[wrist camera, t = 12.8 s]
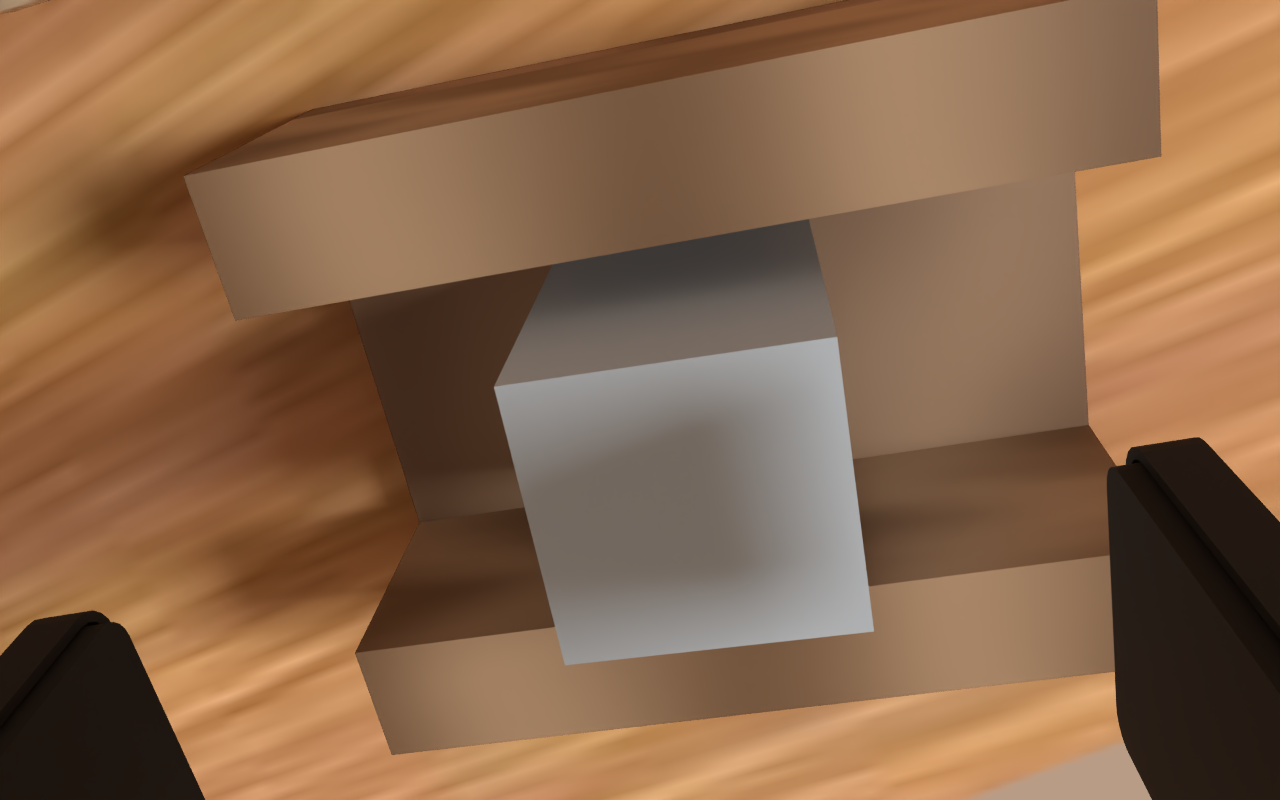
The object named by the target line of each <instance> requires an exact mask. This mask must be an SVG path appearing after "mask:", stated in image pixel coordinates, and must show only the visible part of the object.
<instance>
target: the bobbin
mask: <svg viewBox="0 0 1280 800" xmlns="http://www.w3.org/2000/svg"><path fill="white" fill-rule="evenodd" d="M47 1H50V0H0V14H3V13H9V12H14V11H18V10H21V9H24V8H27V7H30V6H34V5H37V4H40V3H43V2H47Z"/></svg>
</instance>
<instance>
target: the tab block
mask: <svg viewBox="0 0 1280 800" xmlns="http://www.w3.org/2000/svg"><path fill="white" fill-rule="evenodd" d="M494 389H495V393H496V397H497V401H498V405H499V409H500V413H501V417H502V420H503V424H504V428H505V432H506V436H507V440H508V444H509V448H510V452H511V456H512V460H513V464H514V468H515V471H516V475H517V479H518V483H519V487H520V491H521V495H522V499H523V503H524V507H525V511H526V515H527V519H528V522H529V526H530V530H531V534H532V538H533V542H534V546H535V550H536V554H537V558H538V562H539V566H540V570H541V574H542V577H543V581H544V585H545V589H546V593H547V597H548V601H549V605H550V609H551V613H552V617H553V621H554V625H555V628H556V632H557V636H558V640H559V644H560V648H561V652H562V656H563V660H564V664H565V665H573V664H582V663H591V662H600V661H610V660H619V659H628V658H637V657H646V656H655V655H664V654H673V653H683V652H692V651H701V650H710V649H719V648H728V647H737V646H746V645H756V644H765V643H774V642H783V641H792V640H801V639H810V638H819V637H829V636H838V635H847V634H856V633H865V632H874V626H873V618H872V611H871V603H870V595H869V587H868V579H867V571H866V563H865V555H864V547H863V539H862V531H861V523H860V515H859V507H858V499H857V491H856V483H855V475H854V467H853V459H852V451H851V443H850V435H849V427H848V419H847V411H846V403H845V395H844V387H843V379H842V371H841V363H840V355H839V347H838V339H837V334H836V330H835V326H834V321H833V317H832V313H831V309H830V305H829V301H828V297H827V292H826V288H825V284H824V280H823V276H822V272H821V267H820V263H819V259H818V255H817V251H816V247H815V243H814V238H813V234H812V230H811V226H810V222H809V219H806V220H800V221H794V222H789V223H783V224H777V225H772V226H766V227H760V228H755V229H749V230H744V231H738V232H732V233H727V234H721V235H715V236H710V237H704V238H698V239H693V240H687V241H681V242H676V243H670V244H665V245H659V246H653V247H648V248H642V249H636V250H631V251H625V252H619V253H614V254H608V255H603V256H597V257H591V258H586V259H580V260H574V261H569V262H563V263H557V264H553V265H552V267H551V269H550V271H549V273H548V275H547V277H546V279H545V281H544V284H543V286H542V288H541V290H540V292H539V294H538V296H537V298H536V300H535V302H534V304H533V306H532V309H531V311H530V313H529V315H528V317H527V319H526V321H525V323H524V325H523V327H522V329H521V331H520V334H519V336H518V338H517V340H516V342H515V344H514V346H513V348H512V350H511V352H510V354H509V356H508V359H507V361H506V363H505V365H504V367H503V369H502V371H501V373H500V375H499V377H498V379H497V381H496V384H495V386H494Z"/></svg>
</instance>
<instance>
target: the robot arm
mask: <svg viewBox="0 0 1280 800" xmlns="http://www.w3.org/2000/svg"><path fill="white" fill-rule="evenodd" d="M1107 505H1108V527H1109V550H1110V572H1111V595H1112V617H1113V640H1114V662H1115V685H1116V706H1117V716H1118V721H1119V726H1120V730H1121V734H1122V737H1123V740H1124V743H1125V746H1126V748H1127V750H1128V753H1129V755H1130V757H1131V759H1132V761H1133V763H1134V765H1135V767H1136V769H1137V771H1138V773H1139V775H1140V777H1141V779H1142V781H1143V782H1144V785H1145V786H1146V789H1147V790H1148V792H1149V794H1150V797H1151V798H1152V800H1280V522H1279V521H1278V520H1277V519H1276V517H1275V516H1274V515H1273V514H1272V513H1271V512H1270V511H1269V510H1268V509H1267V508H1266V507H1265V506H1264V505H1263V503H1262V502H1261V501H1260V500H1259V499H1258V498H1257V497H1256V496H1255V495H1254V494H1253V493H1252V492H1251V490H1250V489H1249V488H1248V487H1247V486H1246V485H1245V484H1244V483H1243V482H1242V481H1241V480H1240V479H1239V477H1238V476H1237V475H1236V474H1235V473H1234V472H1233V471H1232V470H1231V469H1230V468H1229V467H1228V466H1227V464H1226V463H1225V462H1224V461H1223V460H1222V459H1221V458H1220V457H1219V456H1218V455H1217V454H1216V453H1215V451H1214V450H1213V449H1212V448H1211V447H1210V446H1209V445H1208V444H1207V443H1206V442H1205V441H1204V440H1202V439H1201V438H1189V439H1182V440H1176V441H1170V442H1163V443H1157V444H1150V445H1144V446H1138V447H1131V449H1130V450H1129V451H1128V455H1127V459H1126V465H1122V466H1115V467H1110V469H1109V470H1108V473H1107ZM0 800H205V798H204V796H203V794H202V792H201V790H200V787H199V785H198V783H197V781H196V779H195V777H194V774H193V772H192V770H191V768H190V766H189V764H188V761H187V759H186V757H185V755H184V753H183V751H182V748H181V746H180V744H179V742H178V740H177V738H176V735H175V733H174V731H173V729H172V727H171V725H170V722H169V720H168V718H167V716H166V714H165V712H164V710H163V707H162V705H161V703H160V701H159V699H158V697H157V694H156V692H155V690H154V688H153V686H152V684H151V681H150V679H149V677H148V675H147V673H146V671H145V668H144V666H143V664H142V662H141V660H140V658H139V655H138V653H137V651H136V649H135V647H134V645H133V642H132V640H131V638H130V636H129V634H128V633H127V631H126V629H125V628H124V627H123V626H121V625H120V624H118V623H115V622H110V620H109V619H108V618H107V617H106V616H104V615H103V614H102V613H100V612H97V611H87V612H80V613H74V614H68V615H61V616H55V617H49V618H43V619H38V620H34V621H33V622H32V623H30V624H29V625H28V626H27V627H26V628H25V629H24V630H23V631H22V632H21V633H20V634H19V636H18V637H17V638H16V639H15V640H14V641H13V642H12V643H11V645H10V646H9V647H8V648H7V649H6V650H5V651H4V652H3V653H2V655H1V656H0Z"/></svg>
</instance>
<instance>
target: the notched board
mask: <svg viewBox="0 0 1280 800" xmlns="http://www.w3.org/2000/svg"><path fill="white" fill-rule="evenodd" d="M1155 157H1161V130H1160V90H1159V51H1158V11H1157V0H846V1H841V2H836V3H831V4H826V5H822V6H817V7H812V8H807V9H802V10H797V11H792V12H787V13H782V14H777V15H773V16H768V17H763V18H758V19H753V20H748V21H743V22H738V23H733V24H728V25H724V26H719V27H714V28H709V29H704V30H699V31H694V32H689V33H684V34H679V35H675V36H670V37H665V38H660V39H655V40H650V41H645V42H640V43H635V44H631V45H626V46H621V47H616V48H611V49H606V50H601V51H596V52H591V53H586V54H582V55H577V56H572V57H567V58H562V59H557V60H552V61H547V62H542V63H537V64H533V65H528V66H523V67H518V68H513V69H508V70H503V71H498V72H493V73H488V74H484V75H479V76H474V77H469V78H464V79H459V80H454V81H449V82H444V83H439V84H435V85H430V86H425V87H420V88H415V89H410V90H405V91H400V92H395V93H390V94H386V95H381V96H376V97H371V98H366V99H361V100H356V101H351V102H346V103H341V104H337V105H332V106H327V107H322V108H317V109H312V110H311V111H309V112H307V113H305V114H303V115H301V116H299V117H297V118H295V119H293V120H291V121H289V122H287V123H285V124H283V125H281V126H280V127H278V128H276V129H274V130H272V131H270V132H268V133H266V134H264V135H262V136H260V137H258V138H256V139H254V140H252V141H250V142H249V143H247V144H245V145H243V146H241V147H239V148H237V149H235V150H233V151H231V152H229V153H227V154H225V155H223V156H221V157H219V158H217V159H216V160H214V161H212V162H210V163H208V164H206V165H204V166H202V167H200V168H198V169H196V170H194V171H192V172H190V173H188V174H186V175H185V176H183V177H184V180H185V182H186V185H187V188H188V191H189V193H190V196H191V199H192V202H193V205H194V207H195V210H196V213H197V216H198V218H199V221H200V224H201V227H202V230H203V232H204V235H205V238H206V241H207V243H208V246H209V249H210V252H211V255H212V257H213V260H214V263H215V266H216V268H217V271H218V274H219V277H220V280H221V282H222V285H223V288H224V291H225V293H226V296H227V299H228V302H229V304H230V307H231V310H232V313H233V316H234V318H235V321H236V320H242V319H247V318H253V317H259V316H264V315H270V314H275V313H281V312H287V311H292V310H298V309H304V308H309V307H315V306H321V305H326V304H332V303H337V302H343V301H350V305H351V308H352V311H353V314H354V317H355V320H356V324H357V327H358V330H359V333H360V336H361V339H362V342H363V346H364V349H365V352H366V355H367V358H368V361H369V365H370V368H371V371H372V374H373V377H374V380H375V383H376V387H377V390H378V393H379V396H380V399H381V402H382V406H383V409H384V412H385V415H386V418H387V421H388V424H389V428H390V431H391V434H392V437H393V440H394V443H395V447H396V450H397V453H398V456H399V459H400V462H401V465H402V469H403V472H404V475H405V478H406V481H407V484H408V488H409V491H410V494H411V497H412V500H413V503H414V507H415V510H416V513H417V516H418V519H419V522H420V523H419V525H418V527H417V529H416V531H415V533H414V535H413V537H412V539H411V541H410V543H409V545H408V547H407V549H406V551H405V553H404V555H403V557H402V559H401V561H400V563H399V565H398V567H397V569H396V571H395V573H394V575H393V577H392V579H391V581H390V583H389V585H388V587H387V589H386V592H385V594H384V596H383V598H382V600H381V602H380V604H379V606H378V608H377V610H376V612H375V614H374V616H373V618H372V620H371V622H370V624H369V626H368V628H367V630H366V632H365V634H364V636H363V638H362V640H361V642H360V644H359V646H358V648H357V650H356V652H355V654H356V657H357V660H358V662H359V665H360V668H361V671H362V674H363V676H364V679H365V682H366V685H367V687H368V690H369V693H370V696H371V699H372V701H373V704H374V707H375V710H376V712H377V715H378V718H379V721H380V724H381V726H382V729H383V732H384V735H385V737H386V740H387V743H388V746H389V749H390V751H391V754H392V755H396V754H404V753H413V752H422V751H431V750H439V749H448V748H457V747H465V746H474V745H483V744H491V743H500V742H509V741H517V740H526V739H535V738H543V737H552V736H561V735H569V734H578V733H587V732H595V731H604V730H613V729H621V728H630V727H639V726H647V725H656V724H665V723H673V722H682V721H691V720H700V719H708V718H717V717H726V716H734V715H743V714H752V713H760V712H769V711H778V710H786V709H795V708H804V707H812V706H821V705H830V704H838V703H847V702H856V701H864V700H873V699H882V698H890V697H899V696H908V695H916V694H925V693H934V692H942V691H951V690H960V689H969V688H977V687H986V686H995V685H1003V684H1012V683H1021V682H1029V681H1038V680H1047V679H1055V678H1064V677H1073V676H1081V675H1090V674H1099V673H1107V672H1115V662H1114V640H1113V617H1112V595H1111V572H1110V550H1109V527H1108V505H1107V473H1108V470H1109V469H1110V467H1115V466H1116V465H1115V463H1114V462H1113V460H1112V459H1111V457H1110V456H1109V454H1108V453H1107V452H1106V450H1105V449H1104V447H1103V446H1102V444H1101V443H1100V441H1099V440H1098V438H1097V437H1096V435H1095V434H1094V432H1093V431H1092V429H1091V428H1090V426H1089V423H1088V405H1087V387H1086V368H1085V350H1084V332H1083V314H1082V296H1081V277H1080V259H1079V241H1078V223H1077V205H1076V187H1075V172H1076V171H1082V170H1088V169H1093V168H1099V167H1104V166H1110V165H1116V164H1121V163H1127V162H1133V161H1138V160H1144V159H1150V158H1155ZM806 219H809V222H810V226H811V230H812V234H813V238H814V243H815V247H816V251H817V255H818V259H819V263H820V267H821V272H822V276H823V280H824V284H825V288H826V292H827V297H828V301H829V305H830V309H831V313H832V317H833V321H834V326H835V330H836V334H837V339H838V347H839V355H840V363H841V371H842V379H843V387H844V395H845V403H846V411H847V419H848V427H849V435H850V443H851V451H852V459H853V467H854V475H855V483H856V491H857V499H858V507H859V515H860V523H861V531H862V539H863V547H864V555H865V563H866V571H867V579H868V587H869V595H870V603H871V611H872V618H873V626H874V632H865V633H856V634H847V635H838V636H829V637H819V638H810V639H801V640H792V641H783V642H774V643H765V644H756V645H746V646H737V647H728V648H719V649H710V650H701V651H692V652H683V653H673V654H664V655H655V656H646V657H637V658H628V659H619V660H610V661H600V662H591V663H582V664H573V665H565V664H564V660H563V656H562V652H561V648H560V644H559V640H558V636H557V632H556V628H555V625H554V621H553V617H552V613H551V609H550V605H549V601H548V597H547V593H546V589H545V585H544V581H543V577H542V574H541V570H540V566H539V562H538V558H537V554H536V550H535V546H534V542H533V538H532V534H531V530H530V526H529V522H528V519H527V515H526V511H525V507H524V503H523V499H522V495H521V491H520V487H519V483H518V479H517V475H516V471H515V468H514V464H513V460H512V456H511V452H510V448H509V444H508V440H507V436H506V432H505V428H504V424H503V420H502V417H501V413H500V409H499V405H498V401H497V397H496V393H495V389H494V386H495V384H496V381H497V379H498V377H499V375H500V373H501V371H502V369H503V367H504V365H505V363H506V361H507V359H508V356H509V354H510V352H511V350H512V348H513V346H514V344H515V342H516V340H517V338H518V336H519V334H520V331H521V329H522V327H523V325H524V323H525V321H526V319H527V317H528V315H529V313H530V311H531V309H532V306H533V304H534V302H535V300H536V298H537V296H538V294H539V292H540V290H541V288H542V286H543V284H544V281H545V279H546V277H547V275H548V273H549V271H550V269H551V267H552V265H553V264H557V263H563V262H569V261H574V260H580V259H586V258H591V257H597V256H603V255H608V254H614V253H619V252H625V251H631V250H636V249H642V248H648V247H653V246H659V245H665V244H670V243H676V242H681V241H687V240H693V239H698V238H704V237H710V236H715V235H721V234H727V233H732V232H738V231H744V230H749V229H755V228H760V227H766V226H772V225H777V224H783V223H789V222H794V221H800V220H806Z"/></svg>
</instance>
